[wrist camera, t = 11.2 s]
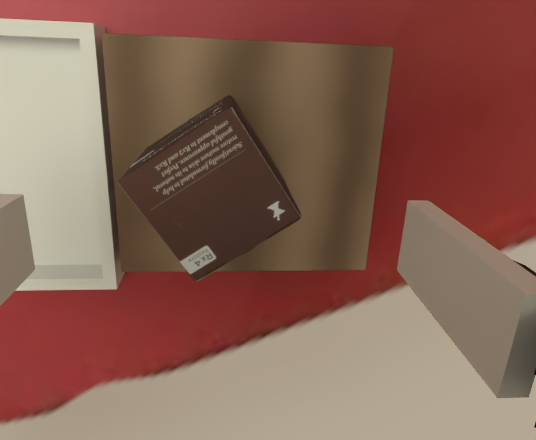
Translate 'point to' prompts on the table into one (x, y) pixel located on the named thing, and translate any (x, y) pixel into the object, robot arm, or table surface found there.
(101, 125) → the bin
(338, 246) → the wooden board
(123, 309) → the table surface
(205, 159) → the box
